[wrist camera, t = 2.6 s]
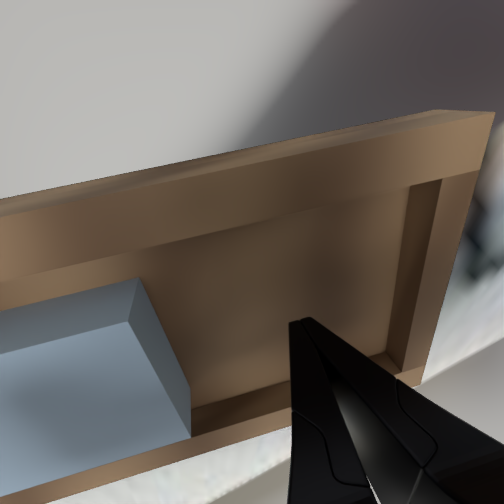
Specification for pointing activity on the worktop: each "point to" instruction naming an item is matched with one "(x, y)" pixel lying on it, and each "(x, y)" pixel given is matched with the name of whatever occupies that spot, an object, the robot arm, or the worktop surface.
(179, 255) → the brown flat wooden tray
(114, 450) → the blue mattress with pillow
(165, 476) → the worktop surface
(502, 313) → the worktop surface
